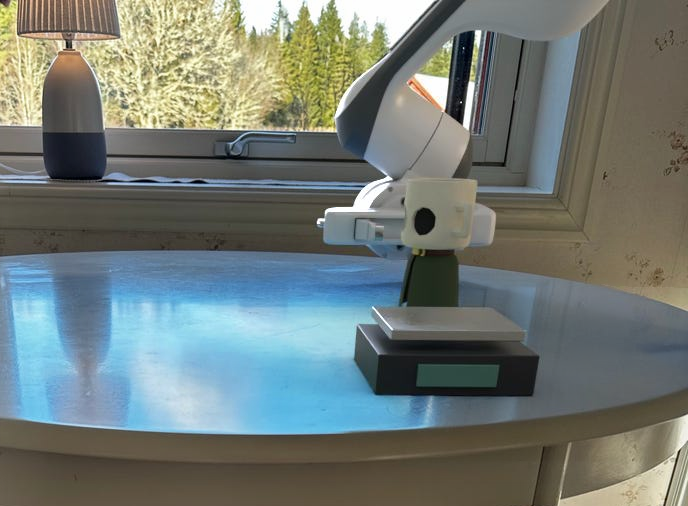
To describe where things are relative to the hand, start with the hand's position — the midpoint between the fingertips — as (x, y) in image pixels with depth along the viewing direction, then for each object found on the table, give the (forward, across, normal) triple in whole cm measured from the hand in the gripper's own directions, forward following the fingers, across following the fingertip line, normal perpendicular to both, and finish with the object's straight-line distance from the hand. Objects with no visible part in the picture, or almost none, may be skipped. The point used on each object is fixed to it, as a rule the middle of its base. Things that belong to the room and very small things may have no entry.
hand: (418, 233), depth 108 cm
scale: (+38, -5, +7) cm, 39 cm away
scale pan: (+38, -5, +3) cm, 39 cm away
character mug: (+9, 0, +7) cm, 12 cm away
